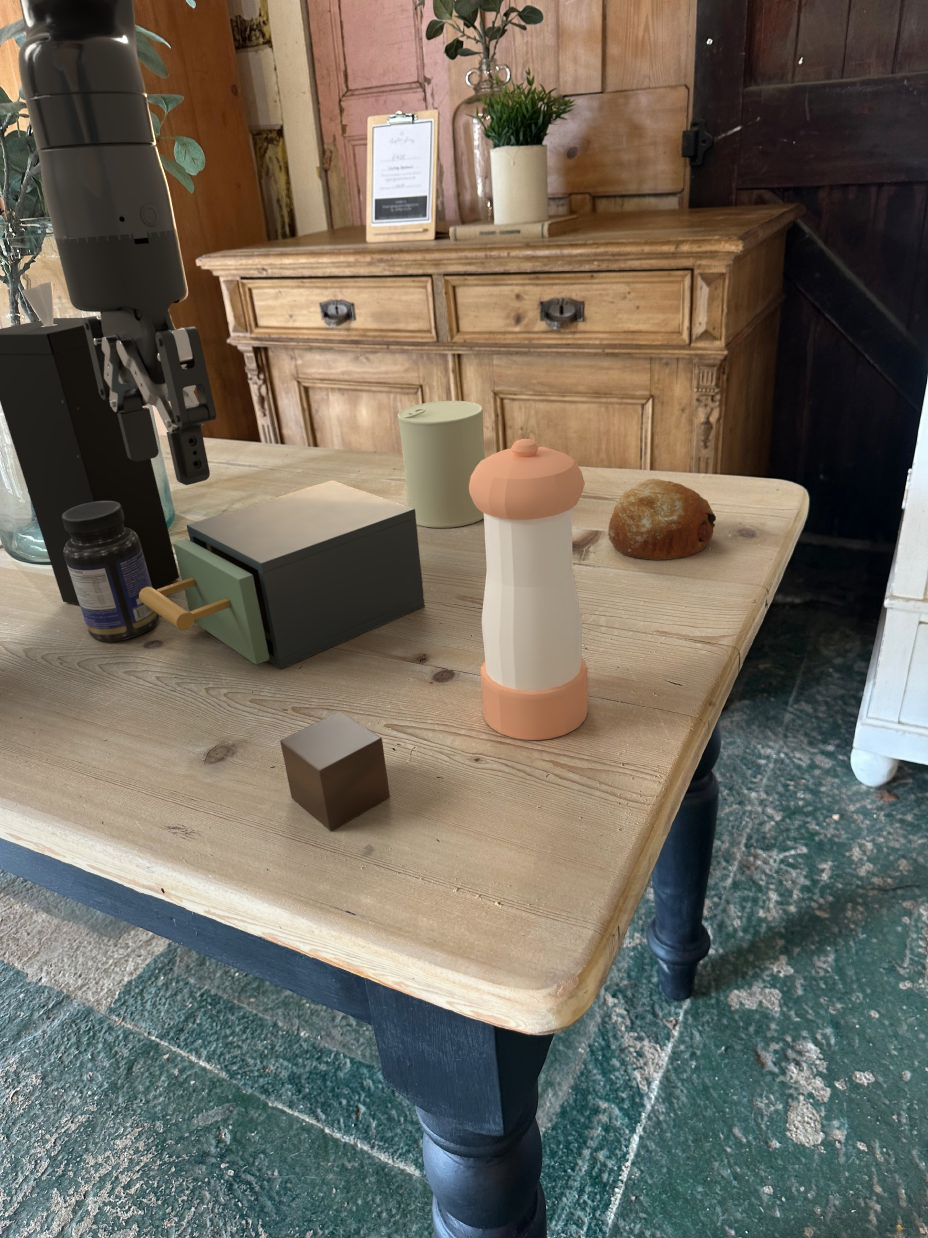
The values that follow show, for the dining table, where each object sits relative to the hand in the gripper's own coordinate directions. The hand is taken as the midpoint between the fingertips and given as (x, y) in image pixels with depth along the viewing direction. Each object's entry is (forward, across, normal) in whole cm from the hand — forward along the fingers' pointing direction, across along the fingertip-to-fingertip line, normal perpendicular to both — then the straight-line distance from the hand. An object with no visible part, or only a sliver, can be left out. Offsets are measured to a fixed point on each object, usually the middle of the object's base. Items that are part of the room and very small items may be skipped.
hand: (168, 469), depth 63 cm
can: (+16, -10, +34) cm, 39 cm away
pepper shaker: (+16, +25, +12) cm, 32 cm away
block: (+16, +23, -3) cm, 28 cm away
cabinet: (+16, 0, +10) cm, 19 cm away
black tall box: (+16, -19, 0) cm, 25 cm away
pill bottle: (+16, -11, -3) cm, 20 cm away
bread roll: (+15, +13, +42) cm, 47 cm away
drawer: (+15, 0, +6) cm, 16 cm away
